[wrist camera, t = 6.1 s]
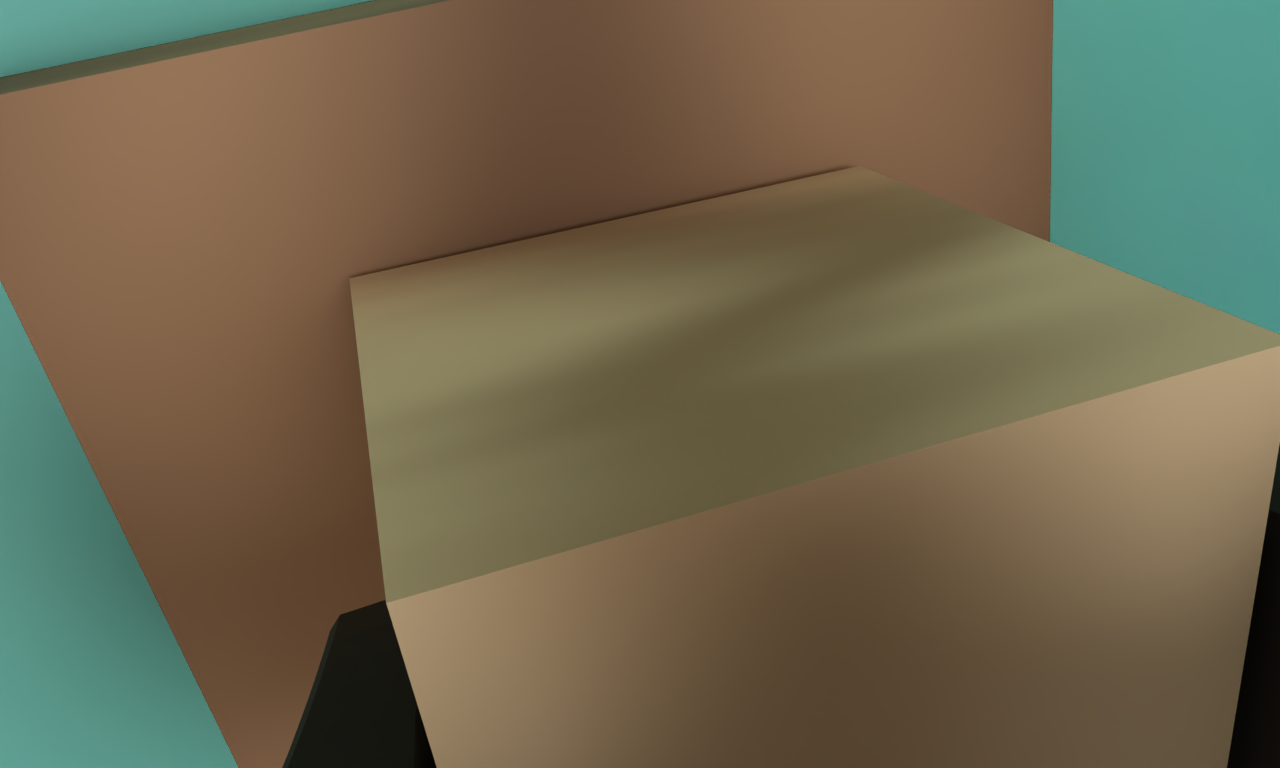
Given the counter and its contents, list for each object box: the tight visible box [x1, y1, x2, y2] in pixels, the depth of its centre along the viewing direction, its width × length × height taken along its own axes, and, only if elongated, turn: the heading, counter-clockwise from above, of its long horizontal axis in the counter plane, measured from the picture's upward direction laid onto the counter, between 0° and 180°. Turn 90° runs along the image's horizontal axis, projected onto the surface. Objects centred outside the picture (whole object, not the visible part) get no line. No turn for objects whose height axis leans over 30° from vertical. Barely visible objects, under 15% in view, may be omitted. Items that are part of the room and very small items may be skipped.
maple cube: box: [349, 166, 1280, 768], centre depth 8 cm, size 5×5×5 cm
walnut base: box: [0, 0, 1053, 768], centre depth 12 cm, size 10×10×2 cm
